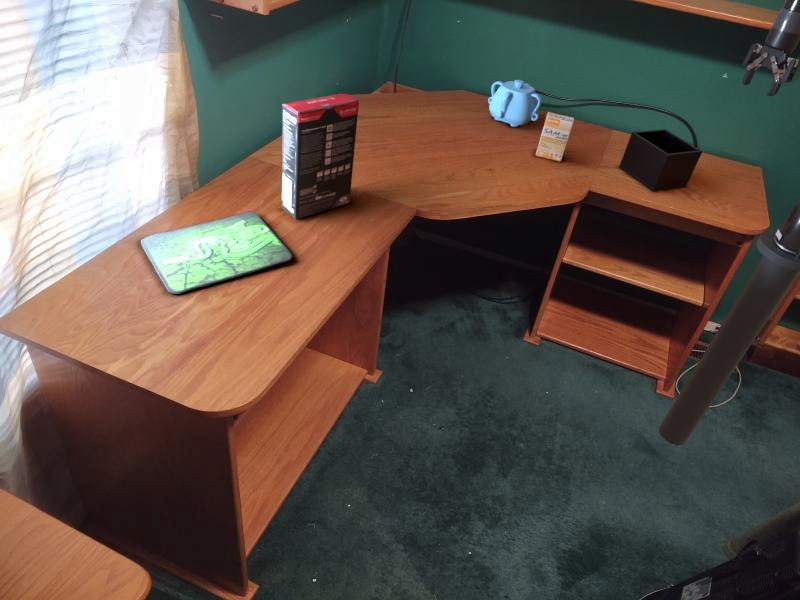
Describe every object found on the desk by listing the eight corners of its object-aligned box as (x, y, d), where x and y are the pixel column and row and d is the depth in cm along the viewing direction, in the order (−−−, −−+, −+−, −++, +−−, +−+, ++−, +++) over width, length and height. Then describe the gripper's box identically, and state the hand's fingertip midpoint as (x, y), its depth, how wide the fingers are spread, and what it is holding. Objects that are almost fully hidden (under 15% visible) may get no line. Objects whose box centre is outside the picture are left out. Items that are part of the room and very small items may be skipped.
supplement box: (534, 156, 187) (546, 116, 179) (536, 150, 191) (547, 110, 182) (561, 162, 186) (573, 122, 177) (562, 156, 189) (574, 116, 181)
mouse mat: (170, 297, 117) (170, 293, 116) (137, 240, 130) (136, 236, 129) (296, 261, 131) (296, 257, 130) (254, 213, 144) (254, 209, 143)
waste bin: (686, 186, 182) (702, 151, 175) (652, 191, 177) (668, 155, 170) (651, 163, 193) (665, 128, 185) (618, 167, 188) (632, 132, 180)
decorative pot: (490, 126, 201) (499, 87, 193) (484, 108, 214) (492, 70, 205) (537, 131, 203) (547, 92, 194) (528, 113, 215) (538, 75, 206)
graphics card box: (336, 192, 156) (342, 89, 139) (353, 204, 152) (360, 99, 135) (280, 209, 146) (279, 101, 129) (296, 222, 143) (297, 113, 125)
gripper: (821, 36, 152) (788, 99, 162) (774, 20, 162) (746, 80, 172) (801, 37, 149) (769, 100, 160) (756, 20, 159) (728, 81, 169)
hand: (757, 89), depth 166 cm, fingers open, 8 cm apart
